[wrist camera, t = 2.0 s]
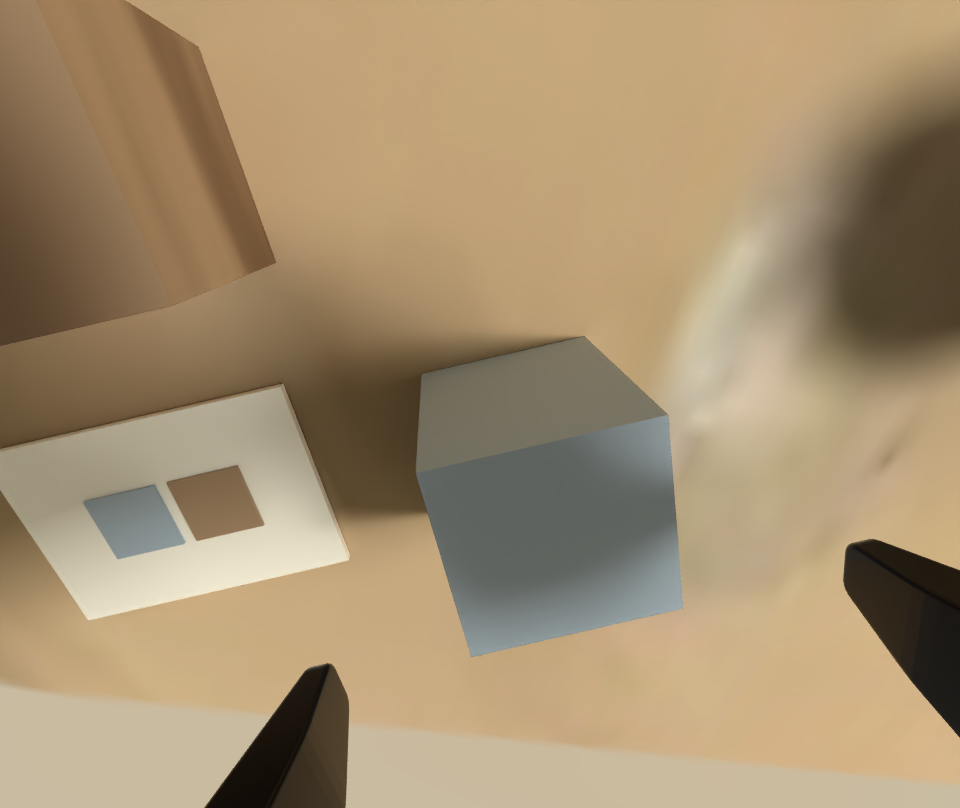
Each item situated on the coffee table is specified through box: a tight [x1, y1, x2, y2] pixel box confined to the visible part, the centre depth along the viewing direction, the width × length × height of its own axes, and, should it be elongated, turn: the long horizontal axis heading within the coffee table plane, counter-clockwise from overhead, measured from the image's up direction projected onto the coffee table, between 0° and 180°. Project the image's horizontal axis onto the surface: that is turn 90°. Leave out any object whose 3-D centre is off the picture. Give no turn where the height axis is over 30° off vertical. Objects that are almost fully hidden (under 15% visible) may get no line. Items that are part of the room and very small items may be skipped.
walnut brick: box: [0, 0, 276, 346], centre depth 10 cm, size 5×5×6 cm
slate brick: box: [416, 336, 683, 657], centre depth 14 cm, size 5×5×6 cm
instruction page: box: [0, 383, 350, 620], centre depth 16 cm, size 9×6×1 cm
